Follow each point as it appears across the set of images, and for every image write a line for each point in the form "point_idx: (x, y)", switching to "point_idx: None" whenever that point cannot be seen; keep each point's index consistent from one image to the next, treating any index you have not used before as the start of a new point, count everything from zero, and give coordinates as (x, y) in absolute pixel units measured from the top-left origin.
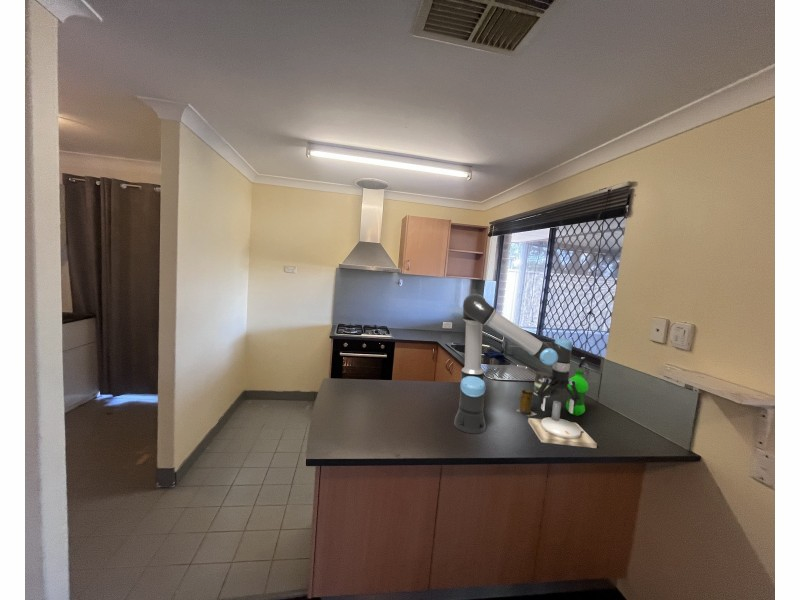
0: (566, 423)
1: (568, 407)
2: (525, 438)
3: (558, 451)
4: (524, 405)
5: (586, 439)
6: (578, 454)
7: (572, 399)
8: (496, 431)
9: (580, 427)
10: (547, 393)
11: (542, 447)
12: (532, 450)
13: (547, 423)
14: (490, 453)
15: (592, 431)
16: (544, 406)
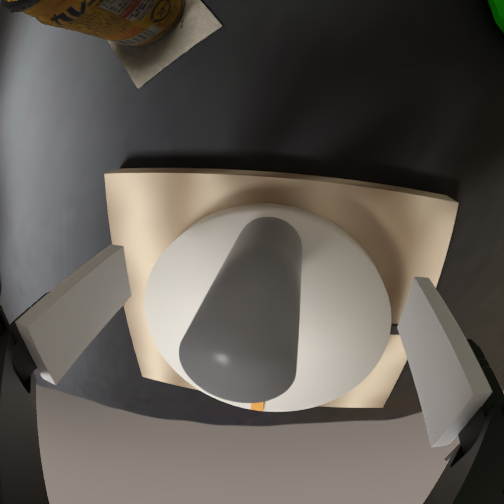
0: (328, 309)
1: (500, 2)
2: (96, 336)
3: (199, 408)
4: (89, 34)
5: (362, 387)
6: (268, 422)
7: (472, 420)
8: (20, 288)
9: (437, 272)
10: (31, 439)
11: (149, 386)
12: (118, 392)
13: (177, 317)
14: (40, 379)
15: (494, 251)
16: (105, 321)
